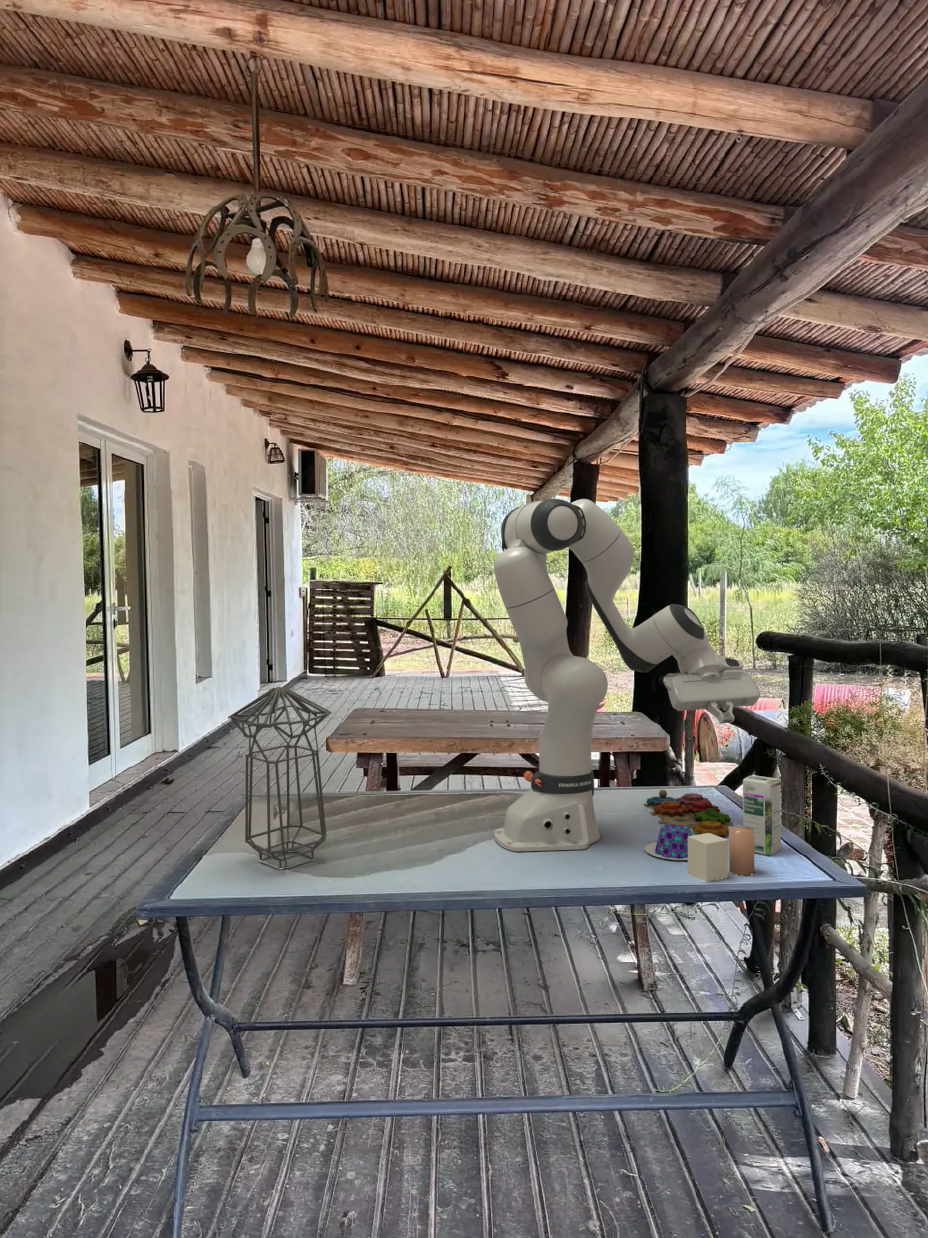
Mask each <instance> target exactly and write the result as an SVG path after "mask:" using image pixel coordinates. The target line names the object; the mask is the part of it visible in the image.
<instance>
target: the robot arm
mask: <svg viewBox="0 0 928 1238" xmlns="http://www.w3.org/2000/svg"><path fill="white" fill-rule="evenodd" d="M500 528H501V529H500V536H501V550H502V552H500V553H499V554H498V555H497V557H496V558H495V560H494V563H493V572H494V576H495V581H496V584H497V585H496V586H497V588H498V592H499V595H500V598H501V601H502V603H503V605H504V608H505V610H506V612H507V615H508V618H509V620H510V622H511V626H512V627H513V630H514V633H515V635H516V637H517V640H518V643H519V647H520V651H521V654H522V655H521V656H522V660H523V665H524V674H523V675H524V676H523V679H524V682H525V685H526V687H527V689H528V690H529V691H530V693H532V694H533V695H534V696H535V697H536V698H537V699H539V700H540V701H542V702H545V703H547V714H546V717H545V722H544V724H543V728H542V729H541V730H540V731H539V735H538V754H539V755H538V758H539V759H538V761H539V762H538V766H539V769H538V770H537V771H535V773H533V772H532V771H530V770H526V771H525V772H524V773H523V779H524V780H525V781H527V782H529V783H530V789H529V790H528V791H526V792H525V793H524V794H523V795H521V796H520V797H519V798H518V799H517V800H516V801H515V802H513V803H512V804H510V805H509V806H508V808H507V810H506V811H505V812H506V813H505V817H504V822H503V827H501V828H500V827H499V828H497V829H495V830H494V833H493V838H494V841H495V842H496V843H497V844H498V845H499V846H500V847H502V848H504V849H507V850H509V851H512V852H537V851H538V852H539V851H540V852H541V851H544V852H545V851H566V850H568V851H571V850H572V851H573V850H585V849H587V848H589V846H590V845H592V844H593V843H596V842H597V841H599V840H600V839H601V834H600V832H599V828H598V825H597V818H596V813H595V806H594V798H593V797H594V796H595V795H594V794H595V777H594V770H592V737H593V736H592V734H593V728H594V724H595V719H596V715H597V711H598V708H599V706H600V704H601V703H602V702H603V700H604V699H605V698H606V695H607V692H608V688H609V687H608V686H609V681H608V677H607V675H606V673H605V671H604V670H603V669H602V668H601V666H599V665H598V664H596V663H595V662H593V661H592V660H590V659H589V658H587V657H583V656H577V655H574V654H573V653H572V652H571V650H570V646H569V642H568V641H569V640H568V636H567V635H568V634H567V627H568V623H569V622H568V618H567V616H566V613H565V611H564V609H563V608H564V607H563V605H562V604H561V600H560V598H559V596H558V593H557V591H556V589H555V587H554V584H553V581H552V580H551V577H550V576H549V573H548V568H547V556H548V554H550V553H553V552H558V551H559V552H560V551H563V550H565V549H567V548H568V549H569V550H570V551H572V552H573V554H574V555H575V557H577V559H578V560H579V561H580V562H581V563H582V565H583V567H584V569H585V571H586V574H587V575H586V576H587V579H586V581H585V584H584V585H585V590H586V593H587V596H588V598H589V600H590V602H591V604H592V606H593V608H594V610H595V611H596V613H597V616H598V617H599V618H600V620H601V622H602V624H603V625H604V627H605V629H606V630H607V632H608V633H609V634H608V635H610V638H611V639H612V640H613V642H614V644H615V647H616V648H617V651H618V652H619V655H620V658H621V660H622V661H623V662H624V664H625V665H626V667H627V668H629V669H630V670H631V671H633V672H639V673H649V672H650V671H652V670H653V669H654V668H656V667H657V666H658V665H660V663H662V662H663V661H664V660H667V658H669V657H671V656H672V657H673V658H675V660H676V661H677V666H678V669H679V672H674V673H673V672H670V673H667V674H666V675H665V676H664V677H663V679H662V680H663V684H664V686H665V688H666V689H667V693H668V697H669V701H670V703H671V706H672V708H673V709H675V710H676V711H677V712H685V711H699V710H707V711H708V714H711V715H712V716H713V717H714V718H716V719H717V722H718V723H719V724H730V723H733V722H734V721H735V715H734V714H733V709H734V708H738V707H753V706H755V705H756V704H757V702H758V700H759V699H760V696H761V690H760V689H759V687H758V686H757V684H756V682H755V680H754V678H753V677H752V676H751V674H749V672H748V671H746V670H744V663H743V662H742V660H740V659H735V658H731V657H727V656H723V655H720V654H717V653H716V651H715V650H714V649H713V648H712V647H711V645H710V640H709V638H708V635H707V634H706V632H705V629H704V626H703V624H702V622H701V621H700V619H699V616H698V615H697V614H696V613H695V612H694V611H693V610H692V609H691V608H689V607H688V606H685V605H682V604H681V605H680V604H676V603H673V604H672V603H671V604H669V605H667V606H665V607H664V608H663V609H661V610H659V611H657V612H655V613H654V614H653V615H652V616H651V617H649V618H648V619H647V620H645V621H643V622H642V623H640V624H639V625H637V626H635V627H628V624H627V623H626V622H625V620H624V618H623V616H622V614H621V613H620V612H619V611H620V610H618V607H617V606H616V604H615V603H614V599H615V595H616V594H617V592H618V590H619V589H620V587H621V585H622V584H623V583H624V581H625V580H626V578H627V577H628V575H629V573H630V571H631V569H632V567H633V564H634V560H635V550H634V546H633V544H632V543H631V540H630V539H629V538H628V536H627V535H626V533H625V532H624V530H623V529H621V527H620V526H619V525H618V524H617V523H616V522H615V520H614V519H613V518H612V517H611V516H610V515H609V514H608V513H606V511H605V510H603V509H602V508H601V507H600V506H599V505H598V504H596V503H595V502H593V501H592V500H590V499H587V498H580V499H577V500H575V501H573V502H569V501H567V500H564V499H560V498H548V499H544V500H536V501H534V500H533V501H530V502H527V503H525V504H523V505H520V506H517V507H515V508H513V509H512V510H510V511H509V512H508V513H507V514H506V515H505V517H504V519H503V520H502V523H501V527H500ZM720 709H722V710H723V711H724V712H723V711H722V710H720Z"/></svg>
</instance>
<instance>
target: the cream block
mask: <svg viewBox="0 0 928 1238" xmlns="http://www.w3.org/2000/svg"><path fill="white" fill-rule="evenodd" d="M687 859H688V860H687V874H688V875H689V876H692V877H694V878H696V879H698V878H699V879H698V880H700V879H701V881H702V880H704V881H706V882H705V883H708V882H707V881H711V880H716V881H718V880H717V879H721V878H725V877H728V878H729V839H727V838H724V837H721V836H720V835H718V836H716V835H714V834H711V833H705V834H701V833H698V834H692V836H688V858H687ZM725 879H726V878H725ZM721 880H722V879H721ZM704 881H703V882H704ZM711 882H712V881H711Z"/></svg>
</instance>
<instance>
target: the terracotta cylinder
mask: <svg viewBox="0 0 928 1238" xmlns="http://www.w3.org/2000/svg"><path fill="white" fill-rule="evenodd" d="M728 829H729V834H728V872H729V871H730V872H732V873H734V874H737V875H736V876H739V875H751V874H753V873H754V874H755V852H754V829H753V828H750V827H746V826H743V825H732V826H728ZM730 872H729V873H730ZM732 873H731V874H732ZM734 874H733V875H734ZM754 874H753V875H754ZM751 876H752V875H751Z"/></svg>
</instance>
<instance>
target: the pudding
mask: <svg viewBox="0 0 928 1238" xmlns="http://www.w3.org/2000/svg"><path fill="white" fill-rule="evenodd" d="M688 836H693V832H692V830H691V829H689V828H688V827H686V826H682V825H677V824H675V825H672V824H669V825H666V824H664V825H662V826H661V827H660V829H659V833H658V836H657V839H656V841H654V842H652V843H648V844H646V845H645V847H644V851H645V852H646V853H648V854H649V855H651V856H654V857H657V858H660V859H667V860H672V861H688Z"/></svg>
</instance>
